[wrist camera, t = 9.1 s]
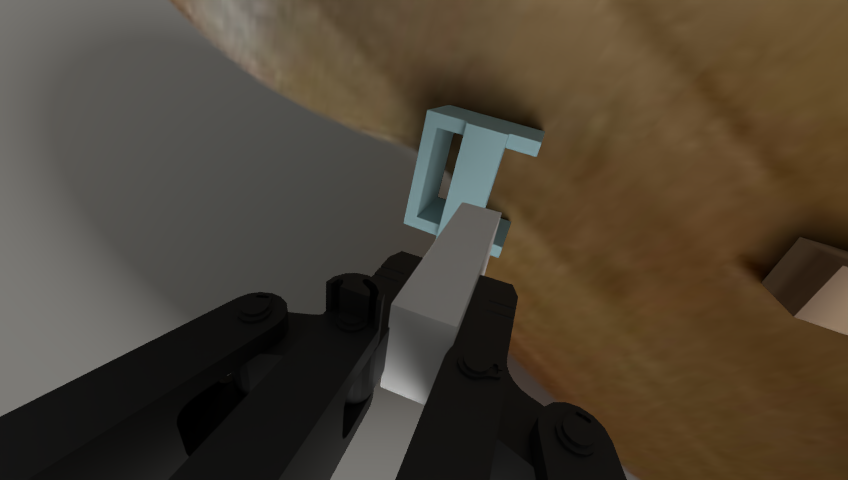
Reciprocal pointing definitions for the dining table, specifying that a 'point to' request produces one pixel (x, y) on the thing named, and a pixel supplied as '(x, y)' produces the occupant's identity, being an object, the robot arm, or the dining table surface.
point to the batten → (813, 284)
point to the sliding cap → (463, 165)
